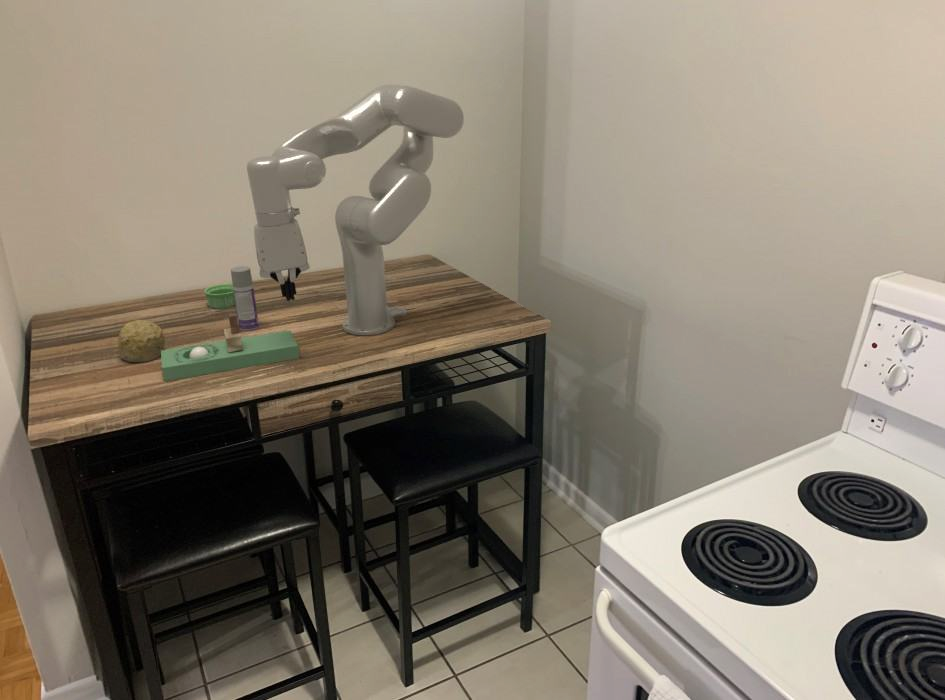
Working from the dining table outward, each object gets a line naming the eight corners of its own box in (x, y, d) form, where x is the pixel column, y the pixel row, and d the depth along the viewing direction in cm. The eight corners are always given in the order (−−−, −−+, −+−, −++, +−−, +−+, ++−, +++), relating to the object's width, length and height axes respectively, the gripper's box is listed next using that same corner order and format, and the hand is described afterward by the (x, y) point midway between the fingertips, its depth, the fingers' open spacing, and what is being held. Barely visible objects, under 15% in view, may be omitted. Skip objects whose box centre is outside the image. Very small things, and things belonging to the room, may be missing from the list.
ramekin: (246, 298, 200) (243, 283, 198) (235, 309, 192) (233, 294, 190) (213, 298, 200) (211, 283, 199) (201, 310, 192) (199, 294, 190)
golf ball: (194, 364, 160) (211, 356, 161) (195, 371, 157) (213, 362, 158) (185, 349, 158) (203, 341, 159) (186, 356, 155) (204, 347, 156)
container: (246, 323, 182) (237, 265, 176) (262, 325, 181) (254, 266, 175) (235, 330, 178) (226, 271, 172) (252, 332, 177) (243, 272, 171)
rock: (161, 358, 172) (140, 321, 171) (179, 346, 164) (157, 307, 163) (124, 376, 165) (101, 337, 164) (140, 364, 157) (116, 323, 156)
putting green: (291, 342, 170) (290, 330, 169) (299, 358, 162) (298, 345, 161) (163, 363, 161) (160, 350, 160) (164, 381, 152) (161, 368, 151)
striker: (239, 340, 163) (234, 310, 161) (242, 349, 158) (237, 318, 155) (225, 342, 162) (220, 312, 159) (228, 352, 157) (223, 321, 154)
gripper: (306, 208, 159) (319, 286, 167) (236, 219, 155) (253, 299, 162) (313, 215, 153) (326, 297, 161) (240, 227, 148) (258, 310, 156)
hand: (289, 298), depth 162 cm, fingers closed
